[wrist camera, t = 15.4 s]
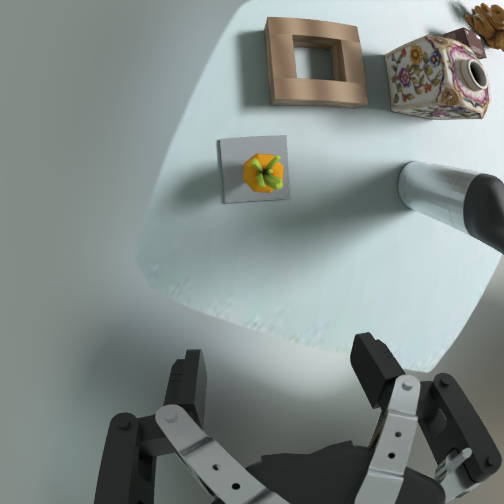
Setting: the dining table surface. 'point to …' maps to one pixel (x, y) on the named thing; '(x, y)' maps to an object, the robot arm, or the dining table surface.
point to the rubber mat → (233, 166)
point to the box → (468, 40)
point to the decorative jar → (437, 80)
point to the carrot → (263, 173)
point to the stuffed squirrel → (489, 24)
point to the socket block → (314, 90)
